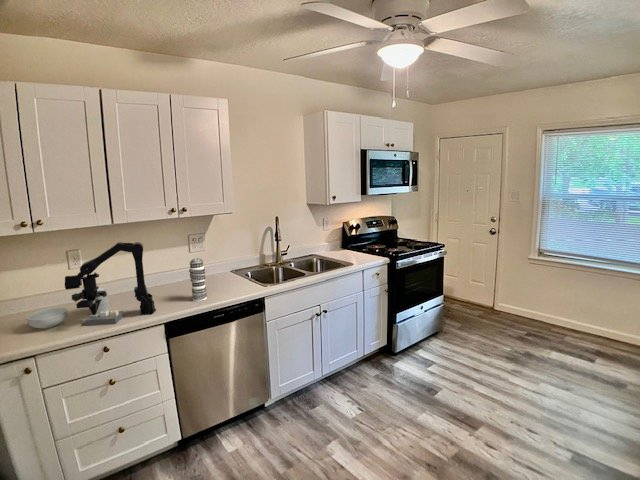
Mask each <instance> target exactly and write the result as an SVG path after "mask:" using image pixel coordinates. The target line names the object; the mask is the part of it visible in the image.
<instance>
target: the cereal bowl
mask: <svg viewBox="0 0 640 480" xmlns="http://www.w3.org/2000/svg"><path fill="white" fill-rule="evenodd" d="M68 313H69V312H68V309H67V308H66V307H60V306H56V307H49V308H44V309H40V310H37V311H33V312H32V313H30V314H28V315H27V316H26V321H27V324H28V325H29V326H30V327H32V328H35V329H42V330H43V329H44V330H47V329H53V328H54V327H57V326H59V324H62V323H63V322H65V320H66V319H67V318H68Z"/></svg>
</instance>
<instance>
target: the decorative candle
mask: <svg viewBox="0 0 640 480" xmlns="http://www.w3.org/2000/svg"><path fill="white" fill-rule="evenodd" d="M188 270H189V271H188V272H189V278H190V282H191V295H192V301H194V302H202V300H203V301H205V300H207V299H208V292H207V286H206V269H205V267H204V260H202V259H201V258H199V257H197V258H192V259H191V260H190V261H189V269H188Z"/></svg>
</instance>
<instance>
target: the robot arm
mask: <svg viewBox="0 0 640 480" xmlns="http://www.w3.org/2000/svg"><path fill="white" fill-rule="evenodd" d="M121 251H122V252H125V253H131V254H132V257H133V260H134V264H135V266H134V267H135V276H136V284H137V286H134V289H133V292H134V298H136V300H137V301H138V302H140V305H139V311H140V315H153V314H154V313H155V312H156V311H157V308H156V307H155V300H153V298H154V297H153V295H152V294H151V293H150V292H149V291H148V289H147V286H146V283H145V274H144V264H143V261H144V260H143V255H144V245H143V243H141V242H138V241H136V242H133V243H132V242H122V241H118V242H117V243H115V244H114V245H113V246H111V247H110V248H108V249H107V250H105V251H104V252H102V253H101V254H100V255H98V256H97V257H94V258H92V259H90V260H87V261H85V262H83V264H81V266H80V267H79V272H78V273H77V274H75V275H65V276H64V288H65V290H73V289H80V287H81V286H82V287H83V289H82V290H81V292H78V293H77V292H76V293H74V294H72V295H71V301H73V302H76V309H85V308H86V309H88V308H89V310H90V313H92V314H93V315H95V314H96V313H97V310H98V307H99V305H100V302H101V301H102V300H101V299H100V300H99V298H98V297H100V296H103V297H105V296H108V292H107V293H106V292H105V291H97V289H98V288H100V287H99V285H97V279H96V278H99V277H100V274H99V273H97V272H94V271H95V270H96V269H97V268H98V267H99V266H100V265H101V264H102V263H104V262H106V261H107V260H108V259H110V258H112V257H113V256H114V255H116V254H117V253H118V252H121ZM93 272H94V273H93ZM78 301H79V302H78ZM92 314H91V315H92Z"/></svg>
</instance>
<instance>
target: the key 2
mask: <svg viewBox="0 0 640 480" xmlns="http://www.w3.org/2000/svg"><path fill="white" fill-rule="evenodd" d="M118 311H119V309H116V310H114V309H112V310H111V311H109V312H110V316H117V315H118V314H119V312H118Z"/></svg>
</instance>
